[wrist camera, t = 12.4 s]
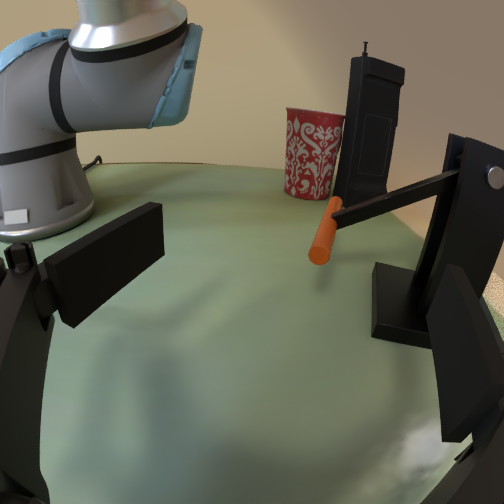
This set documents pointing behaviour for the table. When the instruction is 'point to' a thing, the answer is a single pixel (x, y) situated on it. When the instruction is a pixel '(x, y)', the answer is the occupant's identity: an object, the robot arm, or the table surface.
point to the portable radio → (368, 129)
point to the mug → (311, 152)
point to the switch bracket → (446, 245)
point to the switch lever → (375, 209)
